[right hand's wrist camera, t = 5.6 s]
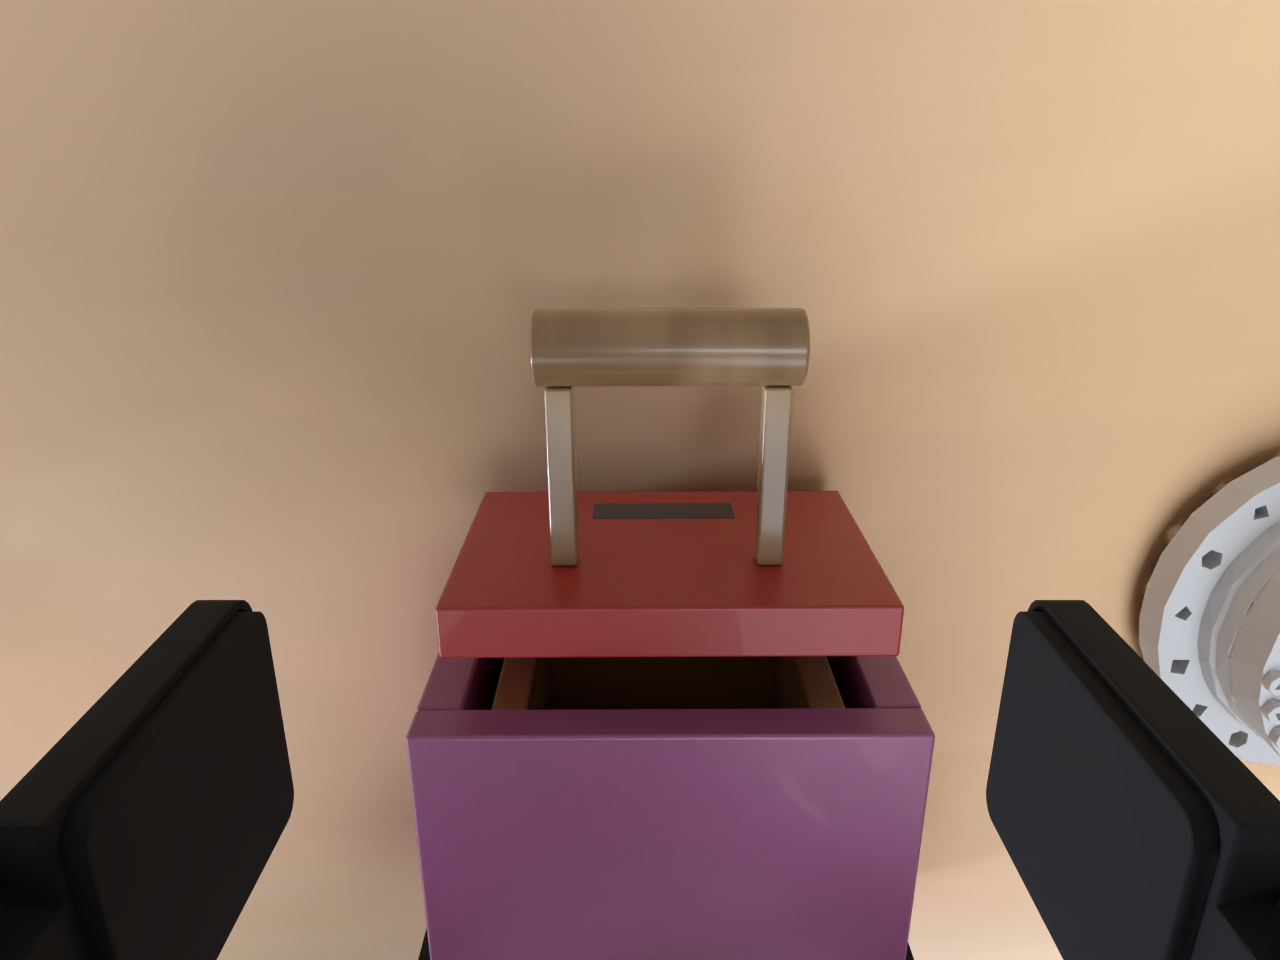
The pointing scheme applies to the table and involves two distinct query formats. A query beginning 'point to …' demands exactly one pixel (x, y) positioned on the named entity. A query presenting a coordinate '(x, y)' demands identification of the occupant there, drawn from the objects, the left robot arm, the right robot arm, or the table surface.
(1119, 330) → the table surface
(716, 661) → the drawer
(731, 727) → the cabinet
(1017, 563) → the table surface
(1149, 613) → the mechanical component
